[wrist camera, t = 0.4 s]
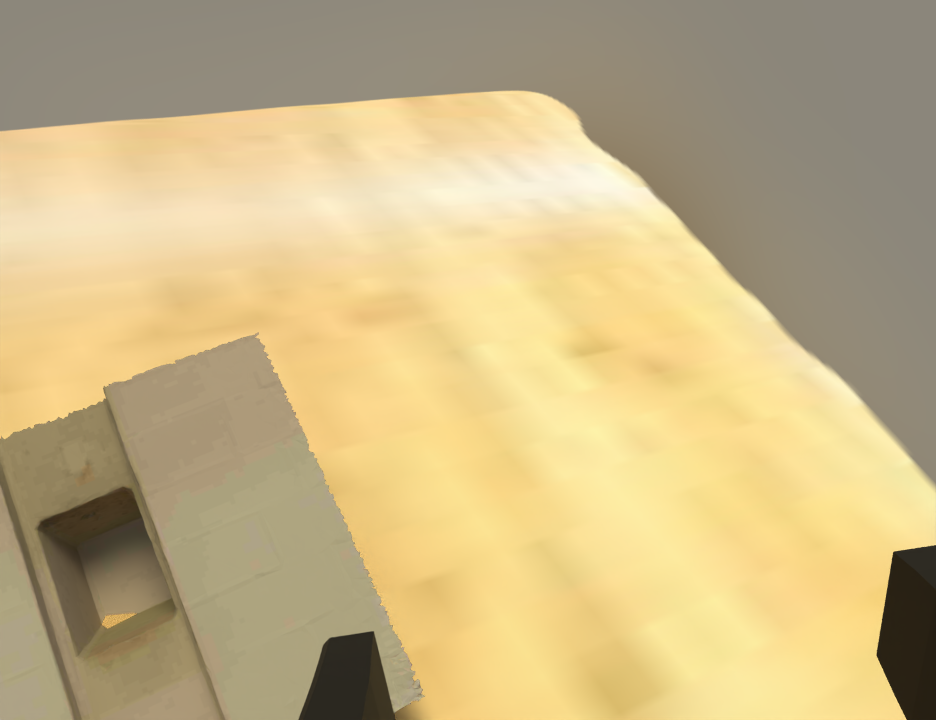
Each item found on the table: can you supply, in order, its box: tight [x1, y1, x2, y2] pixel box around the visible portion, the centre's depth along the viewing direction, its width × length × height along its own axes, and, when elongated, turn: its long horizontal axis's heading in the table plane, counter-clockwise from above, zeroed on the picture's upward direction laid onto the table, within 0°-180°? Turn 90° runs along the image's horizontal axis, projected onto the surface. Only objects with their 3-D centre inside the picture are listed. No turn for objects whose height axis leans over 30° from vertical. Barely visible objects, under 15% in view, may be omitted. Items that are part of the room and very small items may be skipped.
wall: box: [0, 333, 425, 720], centre depth 33 cm, size 16×9×15 cm
